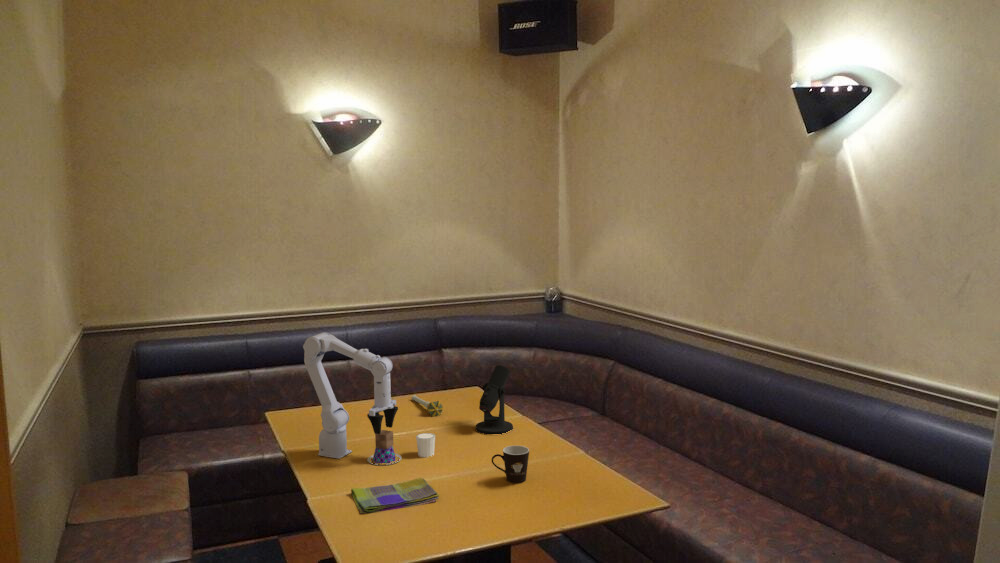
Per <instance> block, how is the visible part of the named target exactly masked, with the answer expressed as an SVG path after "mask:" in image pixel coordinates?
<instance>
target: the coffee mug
mask: <svg viewBox="0 0 1000 563" xmlns="http://www.w3.org/2000/svg"><path fill="white" fill-rule="evenodd" d="M502 452H503V453H502V454H494V455H493V456H492V457H491V463H492V465H493V466H494V467H495V468H497V469H498V470H500V471H501V472H504V473H505V478H506V481H507V482H508V483H510V484H522V483H525V482H526V480H527V472H528V467H529V466H528V465H529V458H530V457H529V456H530V448H528V447H527V446H524V445H508V446H506V447H504V448H503V449H502ZM496 457H500V458H501V459H502V460H503V462H504V464H503V465H504V469H503V468H502V467H500V466H498V465H497V464H496V463H495V462H494V459H495V458H496Z"/></svg>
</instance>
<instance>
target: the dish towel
mask: <svg viewBox="0 0 1000 563" xmlns="http://www.w3.org/2000/svg"><path fill="white" fill-rule="evenodd" d="M350 491H351V495H352V499H353V501H354V504H355V505H356V507H357V509H358V511H359V513H360V515H362V514H363V515H364V514H372V513H377V512H384V511H392V510H393V511H394V510H398V509H405V508H410V507H415V506H416V507H417V506H422V505H423V506H424V505H428V504H431V503H436V500H439V497H440V494H439V492H437V491H436V490H435V489H434V488H433V487H432V486H431V485H430V484H429V483H428V482H427V481H426V479H425V478H422V477H419V478H414V479H412V480H407V481H403V482H398V483H395V484H394V483H393V484H387V485H379V486H378V485H377V486H372V487H362V488H360V487H359V488H354V487H353V488H351V490H350Z"/></svg>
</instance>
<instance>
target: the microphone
mask: <svg viewBox="0 0 1000 563" xmlns="http://www.w3.org/2000/svg"><path fill="white" fill-rule="evenodd" d="M510 374H511V371H510V369H509V368H508V367H506V366H504V365H501V364H498V365H496V366H495V367H494V369H493V370H492V373H491V375H490V377H489V379H488V382H486V383H484V384H483V386H482V390H483V393H482V394H481V397H480V400H479V408H478V409H479V410H480V411H481V412H483V420H482V421H480V422H478V423H476V424H475V431H476V430H477V431H478V433H479V432H480V433H479V434H482V433H484V434H483V435H487V434H501V435H503V434H502V433H506V432H508V431H510V430H512V429H513V430H514V424H513V423H511V422H509V421H507V420H505V393H506V388H505V386H506V383H507V381H508V379H509V377H510ZM498 402H499V404H498ZM497 404H498V405H499V410H498V416H497V415H493V414H492V413H491V412H492V411H494V409H495V407H497ZM513 430H512V431H513ZM477 431H476V432H477ZM506 434H507V433H506Z"/></svg>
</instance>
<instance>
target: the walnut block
mask: <svg viewBox="0 0 1000 563" xmlns="http://www.w3.org/2000/svg"><path fill="white" fill-rule="evenodd" d="M374 435H375V436H374V437H375V438H374V439H375V441H374V442H375V448H382V449H388V448H390V447H391V446H394V430H386V429H381V433H380V434H375V433H374Z"/></svg>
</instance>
